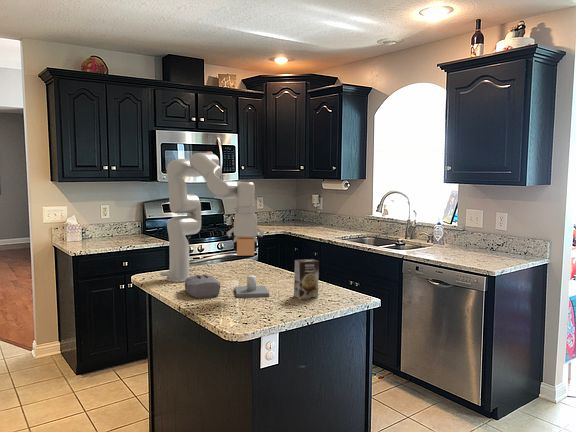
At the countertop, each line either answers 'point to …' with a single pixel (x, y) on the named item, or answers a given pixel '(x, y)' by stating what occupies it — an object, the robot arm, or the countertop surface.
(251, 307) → the countertop surface
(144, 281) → the countertop surface
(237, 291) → the gray plate with knob
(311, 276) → the coffee box
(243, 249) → the orange cube cubby
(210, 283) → the soft grey pack
